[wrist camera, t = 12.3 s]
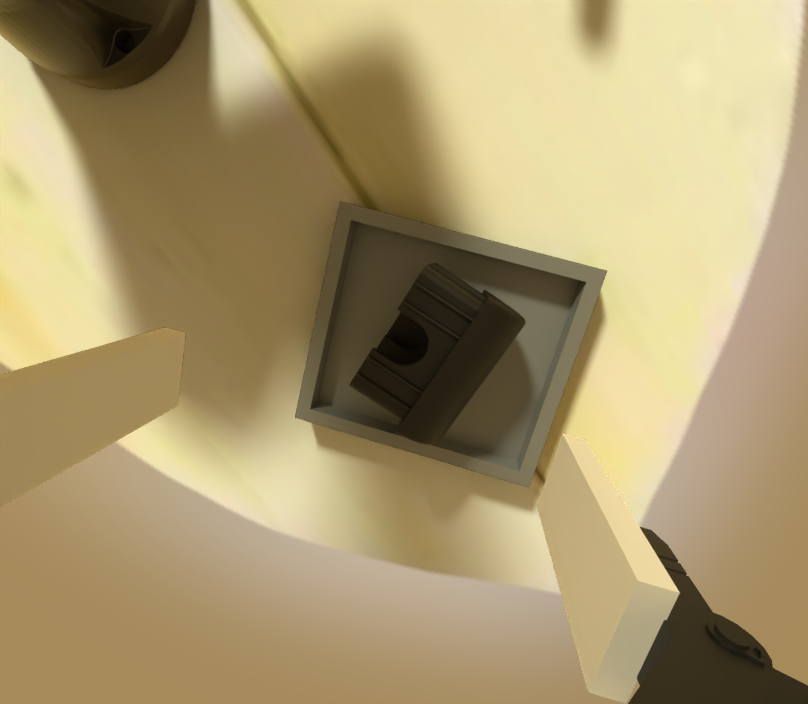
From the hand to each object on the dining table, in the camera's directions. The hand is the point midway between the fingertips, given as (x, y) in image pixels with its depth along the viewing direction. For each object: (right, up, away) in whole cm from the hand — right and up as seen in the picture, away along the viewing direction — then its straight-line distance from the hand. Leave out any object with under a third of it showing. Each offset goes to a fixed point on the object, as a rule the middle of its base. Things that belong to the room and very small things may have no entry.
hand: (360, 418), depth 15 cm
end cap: (+4, +3, +18) cm, 19 cm away
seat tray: (+4, +3, +19) cm, 20 cm away
